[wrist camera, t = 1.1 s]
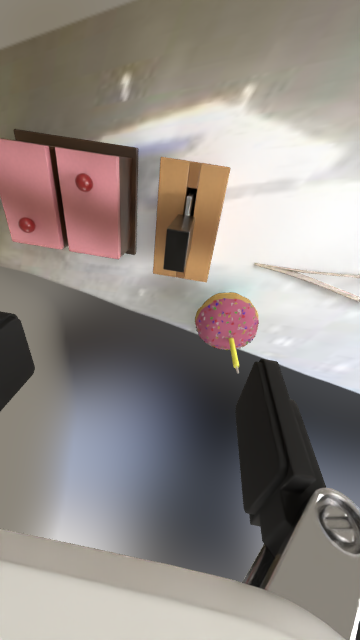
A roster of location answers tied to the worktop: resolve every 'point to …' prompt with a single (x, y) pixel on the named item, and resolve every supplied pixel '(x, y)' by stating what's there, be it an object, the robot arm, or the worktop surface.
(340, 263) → the worktop surface
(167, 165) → the knife block
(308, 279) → the tweezers
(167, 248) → the knife
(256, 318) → the cupcake
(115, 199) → the pink double-door cabinet
